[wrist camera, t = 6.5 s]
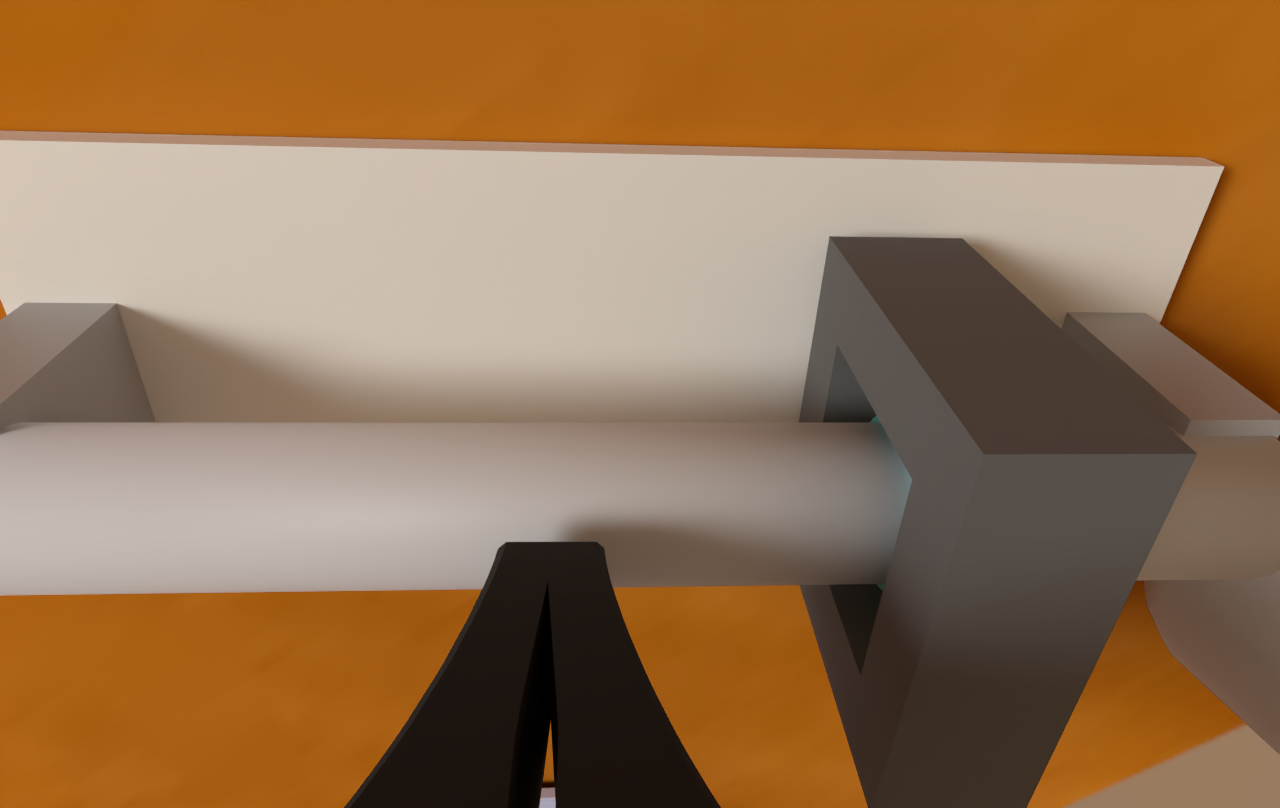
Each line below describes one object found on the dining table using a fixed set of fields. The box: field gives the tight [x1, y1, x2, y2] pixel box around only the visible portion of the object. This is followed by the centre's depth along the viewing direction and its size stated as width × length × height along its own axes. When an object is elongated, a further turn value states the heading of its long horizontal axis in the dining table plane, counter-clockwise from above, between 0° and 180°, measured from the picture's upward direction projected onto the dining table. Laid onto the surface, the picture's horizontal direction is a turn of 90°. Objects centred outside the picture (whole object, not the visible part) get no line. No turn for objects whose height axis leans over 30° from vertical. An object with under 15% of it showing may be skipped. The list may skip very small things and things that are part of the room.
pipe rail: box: [0, 131, 1280, 595], centre depth 14 cm, size 22×9×6 cm, turn 88°
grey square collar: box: [799, 236, 1197, 808], centre depth 13 cm, size 2×7×7 cm, turn 178°
